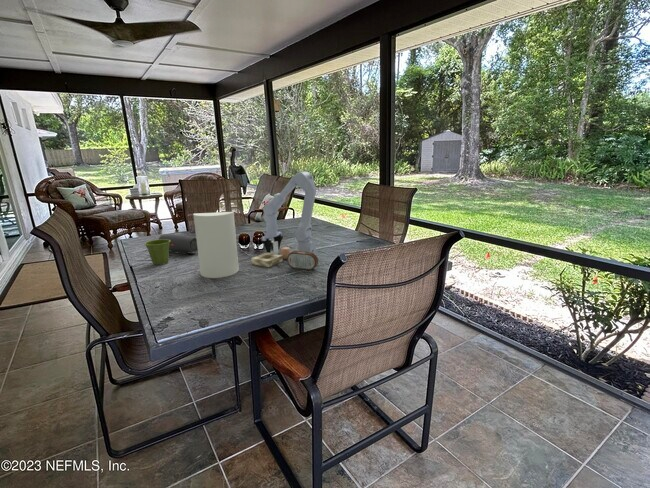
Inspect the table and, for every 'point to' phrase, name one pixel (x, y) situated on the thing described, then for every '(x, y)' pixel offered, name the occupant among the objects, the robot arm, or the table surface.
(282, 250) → the round peg
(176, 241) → the bluetooth speaker
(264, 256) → the bore block
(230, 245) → the cylinder
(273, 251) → the square peg
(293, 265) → the tin
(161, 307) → the table surface
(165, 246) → the plant pot
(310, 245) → the robot arm
